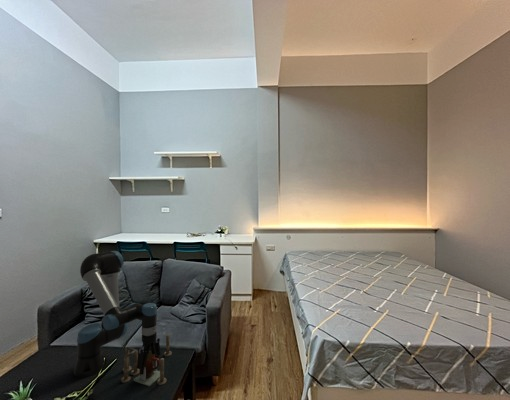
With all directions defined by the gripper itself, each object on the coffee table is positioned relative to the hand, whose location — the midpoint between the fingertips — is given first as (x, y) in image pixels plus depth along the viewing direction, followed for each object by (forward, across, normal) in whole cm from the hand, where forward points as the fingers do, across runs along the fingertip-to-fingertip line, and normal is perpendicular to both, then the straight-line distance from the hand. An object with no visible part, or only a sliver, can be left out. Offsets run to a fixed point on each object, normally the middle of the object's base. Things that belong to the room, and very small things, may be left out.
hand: (149, 374), depth 146 cm
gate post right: (+1, 0, -9) cm, 9 cm away
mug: (0, 0, 0) cm, 1 cm away
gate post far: (+1, +22, +6) cm, 22 cm away
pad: (+1, 0, 0) cm, 1 cm away
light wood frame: (+1, -3, +13) cm, 14 cm away
